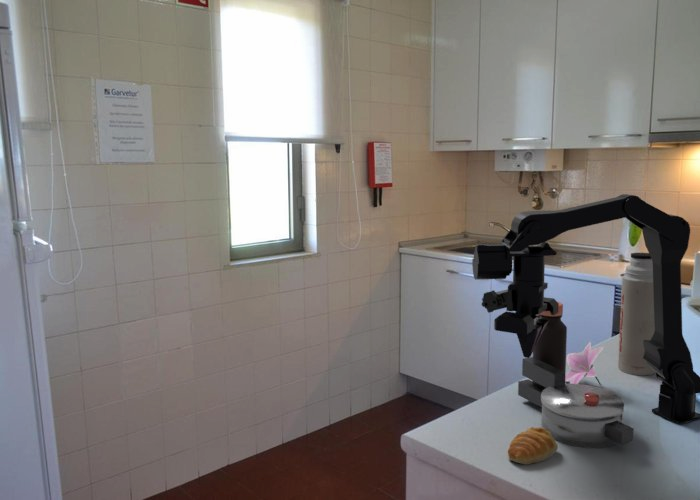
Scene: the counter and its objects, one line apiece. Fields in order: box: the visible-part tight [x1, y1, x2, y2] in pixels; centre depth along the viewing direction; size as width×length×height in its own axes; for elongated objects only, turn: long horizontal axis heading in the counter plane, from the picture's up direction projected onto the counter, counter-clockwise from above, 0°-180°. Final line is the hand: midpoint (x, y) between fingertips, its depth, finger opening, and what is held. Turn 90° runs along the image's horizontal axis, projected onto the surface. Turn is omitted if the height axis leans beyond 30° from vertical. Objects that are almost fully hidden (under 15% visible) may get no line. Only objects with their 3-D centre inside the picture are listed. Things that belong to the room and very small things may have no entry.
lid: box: [521, 356, 625, 421], centre depth 114 cm, size 14×23×4 cm, turn 21°
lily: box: [565, 341, 604, 386], centre depth 131 cm, size 12×12×10 cm
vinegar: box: [532, 301, 568, 387], centre depth 127 cm, size 7×7×20 cm
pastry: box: [507, 426, 559, 466], centre depth 102 cm, size 9×7×4 cm
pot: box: [517, 378, 635, 449], centre depth 113 cm, size 14×26×5 cm, turn 24°
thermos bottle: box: [617, 252, 655, 376], centre depth 138 cm, size 8×8×28 cm
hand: (527, 356), depth 115 cm, fingers closed
